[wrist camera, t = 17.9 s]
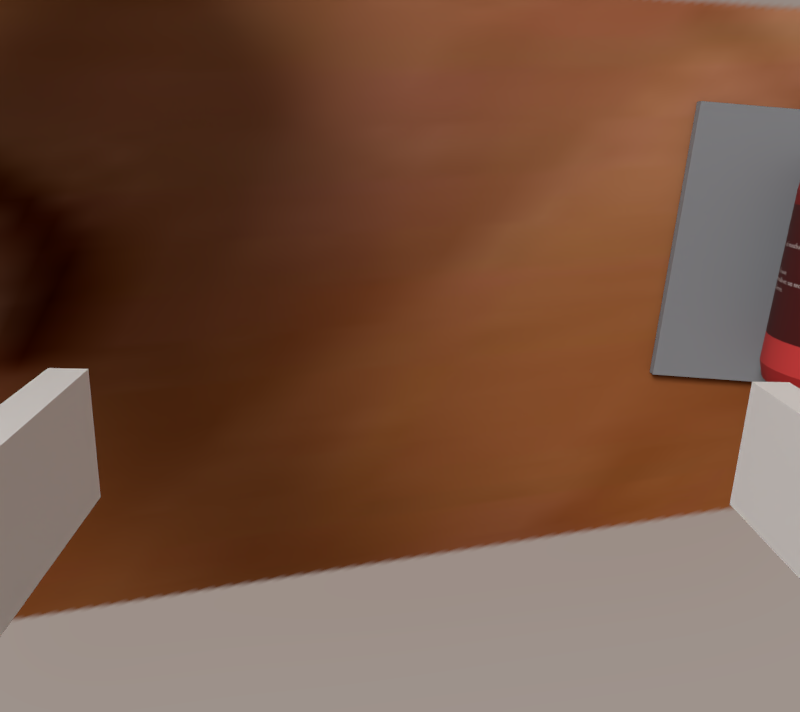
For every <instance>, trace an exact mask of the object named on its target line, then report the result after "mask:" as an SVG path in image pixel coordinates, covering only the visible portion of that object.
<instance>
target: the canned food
mask: <svg viewBox="0 0 800 712" xmlns="http://www.w3.org/2000/svg"><path fill="white" fill-rule="evenodd" d="M760 367H761V375H762V377H763V379H764V380H765V381H766V382H790V383H791V384H793V385H795V386H796V387H798V388H799V389H800V183H799V186H798V189H797V194H796V198H795V203H794V207H793V212H792V216H791V221H790V225H789V230H788V234H787V239H786V243H785V248H784V252H783V257H782V261H781V266H780V270H779V275H778V279H777V283H776V288H775V292H774V297H773V301H772V306H771V310H770V315H769V319H768V324H767V328H766V333H765V337H764V342H763V346H762V351H761V355H760Z"/></svg>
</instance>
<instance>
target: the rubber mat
mask: <svg viewBox="0 0 800 712" xmlns="http://www.w3.org/2000/svg"><path fill="white" fill-rule="evenodd" d="M799 183H800V109H788V108H776V107H764V106H752V105H741V104H729V103H717V102H705V101H699V102H697V106H696V112H695V117H694V123H693V129H692V134H691V140H690V146H689V151H688V157H687V163H686V168H685V174H684V180H683V186H682V191H681V197H680V203H679V208H678V214H677V220H676V225H675V231H674V237H673V242H672V248H671V254H670V259H669V265H668V271H667V277H666V282H665V288H664V294H663V299H662V305H661V311H660V316H659V322H658V328H657V333H656V339H655V345H654V350H653V356H652V362H651V368H650V372H651V373H652V374H654V375H668V376H681V377H695V378H709V379H723V380H737V381H751V382H766V381H765V380H764V379H763V377H762V375H761V367H760V355H761V351H762V346H763V342H764V337H765V333H766V328H767V324H768V319H769V315H770V310H771V306H772V301H773V297H774V292H775V288H776V283H777V279H778V275H779V270H780V266H781V261H782V257H783V252H784V248H785V243H786V239H787V234H788V230H789V225H790V221H791V216H792V212H793V207H794V203H795V198H796V194H797V189H798V186H799Z"/></svg>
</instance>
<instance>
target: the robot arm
mask: <svg viewBox="0 0 800 712" xmlns="http://www.w3.org/2000/svg"><path fill="white" fill-rule="evenodd" d="M100 497H101V495H100V485H99V474H98V464H97V453H96V443H95V432H94V422H93V412H92V401H91V391H90V380H89V370H88V369H71V368H47V369H46V370H45V371H43V372H42V373H41V374H40V375H38V376H37V377H36V378H34V379H33V380H32V381H30V382H29V383H28V384H26V385H25V386H24V387H22V388H21V389H20V390H19V391H17V392H16V393H15V394H13V395H12V396H11V397H9V398H8V399H7V400H5V401H4V402H3V403H1V404H0V636H1V635H2V633H3V632H4V631H5V629H6V628H7V626H8V625H9V624H10V622H11V621H12V619H13V618H14V617H15V615H16V614H17V613H18V611H19V610H20V608H21V607H22V606H23V604H24V603H25V601H26V600H27V599H28V597H29V596H30V594H31V593H32V592H33V590H34V589H35V588H36V586H37V585H38V583H39V582H40V581H41V579H42V578H43V576H44V575H45V574H46V572H47V571H48V569H49V568H50V567H51V565H52V564H53V563H54V561H55V560H56V558H57V557H58V556H59V554H60V553H61V551H62V550H63V549H64V547H65V546H66V544H67V543H68V542H69V540H70V539H71V538H72V536H73V535H74V533H75V532H76V531H77V529H78V528H79V526H80V525H81V524H82V522H83V521H84V519H85V518H86V517H87V515H88V514H89V513H90V511H91V510H92V508H93V507H94V506H95V504H96V503H97V501H98V500H99V499H100ZM730 505H731V506H732V507H733V508H734V509H735V510H736V511H737V512H738V513H739V515H740V516H741V517H742V518H743V519H744V520H745V521H746V522H747V523H748V524H749V525H750V526H751V527H752V528H753V529H754V530H755V532H756V533H757V534H758V535H759V536H760V537H761V538H762V539H763V540H764V541H765V542H766V543H767V544H768V545H769V546H770V547H771V549H773V551H774V552H775V553H776V554H777V555H778V556H779V557H780V558H781V559H782V560H783V561H784V562H785V564H787V566H788V567H789V568H790V569H791V570H792V571H793V572H794V573H795V574H796V575H797V576H798V577H799V578H800V389H799V388H798V387H796V386H795V385H793V384H791V383H790V382H752V386H751V391H750V396H749V402H748V407H747V413H746V418H745V424H744V429H743V435H742V440H741V446H740V451H739V457H738V462H737V467H736V473H735V478H734V484H733V489H732V495H731V500H730Z"/></svg>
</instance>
